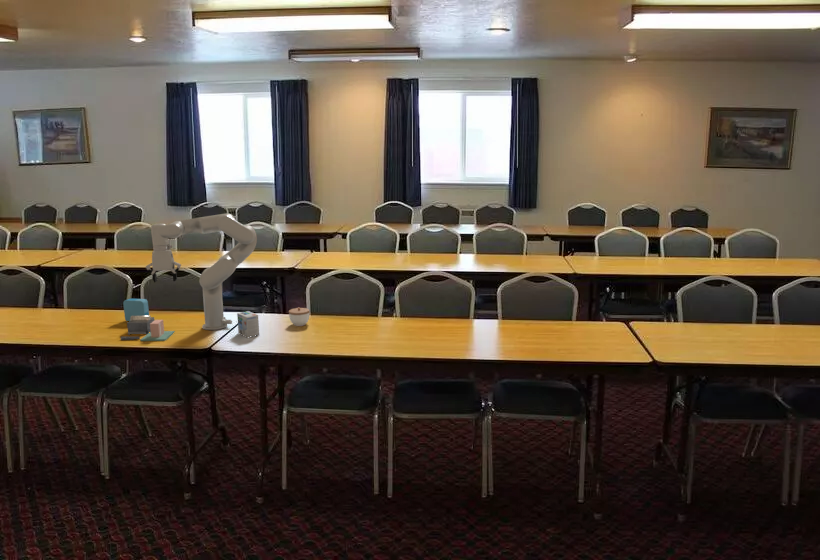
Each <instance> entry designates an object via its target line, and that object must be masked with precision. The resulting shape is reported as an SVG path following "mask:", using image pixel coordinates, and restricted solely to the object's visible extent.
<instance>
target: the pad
mask: <svg viewBox="0 0 820 560" xmlns="http://www.w3.org/2000/svg"><path fill="white" fill-rule="evenodd" d="M174 332H175V330H164V334H163V335H162V336H160V337H151V332H150V333H148V334H146V335H144V336H143V337H142V338H140V340H139V341H140V342H163V341H164V342H165V341H167V340H168V339H169V338H170V337H172V336H173V335H174V334H175V333H174ZM173 333H174V334H173Z"/></svg>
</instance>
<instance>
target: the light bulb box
mask: <svg viewBox="0 0 820 560" xmlns="http://www.w3.org/2000/svg"><path fill="white" fill-rule="evenodd" d="M236 317H237V329H238V330H237V331H238V334H239V333H240V334H239V335H241V334H242V335H241V336H243V335H244V336H243V337H245V336H246V337H245V338H247V337H250V336H255V335H259V336H260V326H259V325H260V323H259V322H260V321H259V314H256V313H254V312H251V311H250V310H247V311H243V312H237V313H236ZM255 337H256V336H255ZM250 338H251V337H250Z"/></svg>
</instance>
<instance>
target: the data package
mask: <svg viewBox="0 0 820 560" xmlns="http://www.w3.org/2000/svg"><path fill="white" fill-rule="evenodd" d="M122 304H123V312H124V313H123V314H124V320H125V321H126V322H127V321H130V317H131V316H150V310H149V301H148V300H147V298H128V299H124V301H123V303H122Z"/></svg>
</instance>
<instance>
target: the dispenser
mask: <svg viewBox="0 0 820 560" xmlns="http://www.w3.org/2000/svg"><path fill="white" fill-rule="evenodd" d="M154 320H155V317H154V316H151V315H149V316H131V317H130V321H129V322H127V321H126V324H127V325H126V326H127V335H128V336H120V341H135V340H134V339H141V337H140V335H138V336H137V335H136V336H134V335H133V336H131V335H130V334H146V335H147V334H148V333H149V332H151V329H150V323H152V322H153V321H154ZM129 335H130V336H129Z"/></svg>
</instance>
